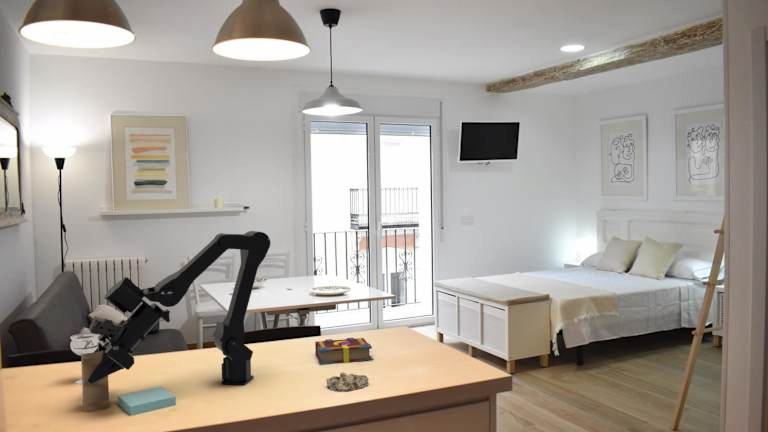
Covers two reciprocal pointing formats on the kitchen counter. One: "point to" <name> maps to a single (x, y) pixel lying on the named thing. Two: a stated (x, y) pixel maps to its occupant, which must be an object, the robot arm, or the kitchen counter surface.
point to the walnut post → (93, 384)
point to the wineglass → (84, 344)
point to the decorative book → (342, 350)
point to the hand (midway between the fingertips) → (88, 379)
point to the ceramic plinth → (146, 400)
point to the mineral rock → (347, 382)
